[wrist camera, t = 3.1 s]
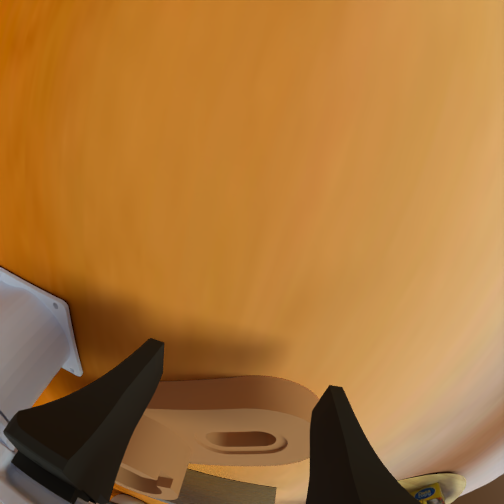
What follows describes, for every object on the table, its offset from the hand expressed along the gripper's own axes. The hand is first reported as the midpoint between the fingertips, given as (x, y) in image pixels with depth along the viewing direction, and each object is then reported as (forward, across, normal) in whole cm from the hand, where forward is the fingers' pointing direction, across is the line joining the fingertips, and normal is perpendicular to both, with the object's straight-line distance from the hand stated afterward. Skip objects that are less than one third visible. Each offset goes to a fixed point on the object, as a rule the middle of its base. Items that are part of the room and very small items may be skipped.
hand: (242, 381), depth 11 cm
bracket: (+4, +2, +10) cm, 11 cm away
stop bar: (+4, 0, +26) cm, 26 cm away
